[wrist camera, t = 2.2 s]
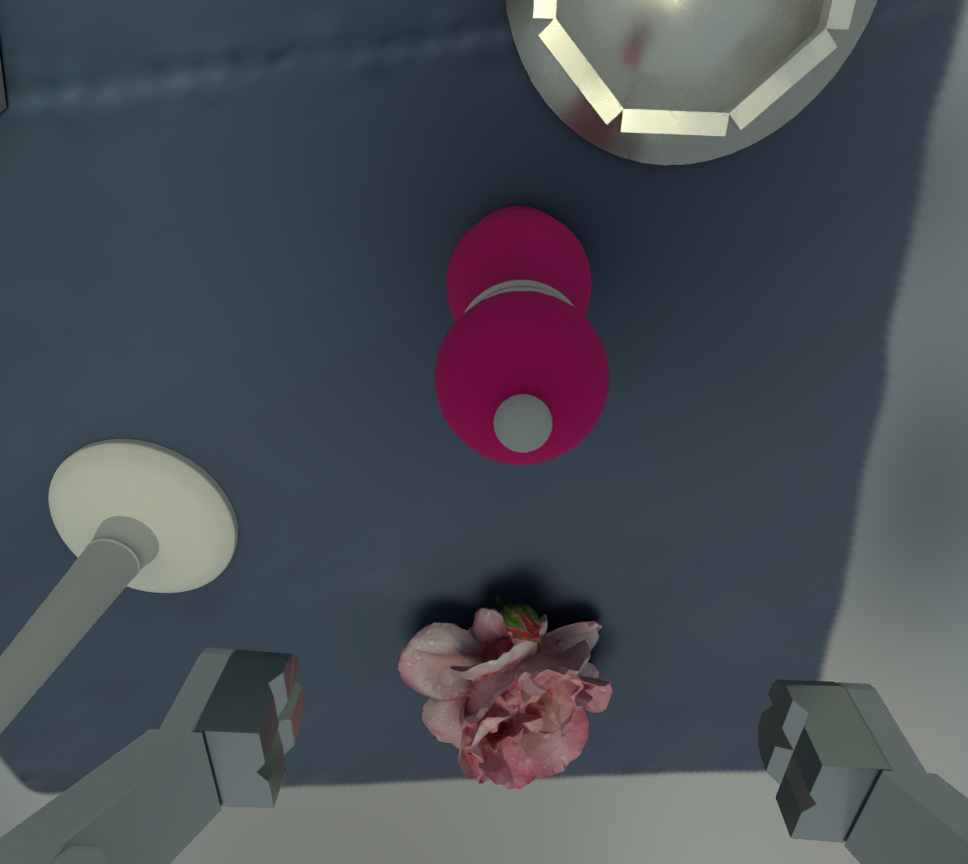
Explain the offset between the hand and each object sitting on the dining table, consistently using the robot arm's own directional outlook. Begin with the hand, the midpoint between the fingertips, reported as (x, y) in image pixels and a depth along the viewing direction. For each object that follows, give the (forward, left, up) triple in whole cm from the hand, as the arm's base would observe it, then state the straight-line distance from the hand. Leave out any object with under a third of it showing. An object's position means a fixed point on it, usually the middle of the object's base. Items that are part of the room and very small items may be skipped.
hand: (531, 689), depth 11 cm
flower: (+29, +1, -29) cm, 41 cm away
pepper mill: (0, 0, -29) cm, 29 cm away
